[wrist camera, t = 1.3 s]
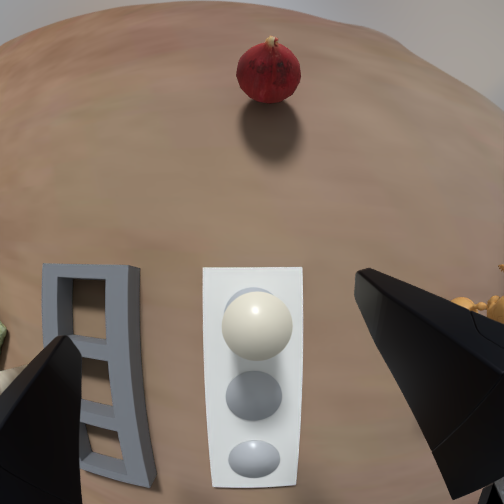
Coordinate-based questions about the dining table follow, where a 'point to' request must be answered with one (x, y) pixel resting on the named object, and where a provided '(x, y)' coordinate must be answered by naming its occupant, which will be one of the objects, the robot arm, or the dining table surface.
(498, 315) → the figurine
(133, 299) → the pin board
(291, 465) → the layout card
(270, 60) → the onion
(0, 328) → the washcloth
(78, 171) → the dining table surface
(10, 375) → the birch peg
